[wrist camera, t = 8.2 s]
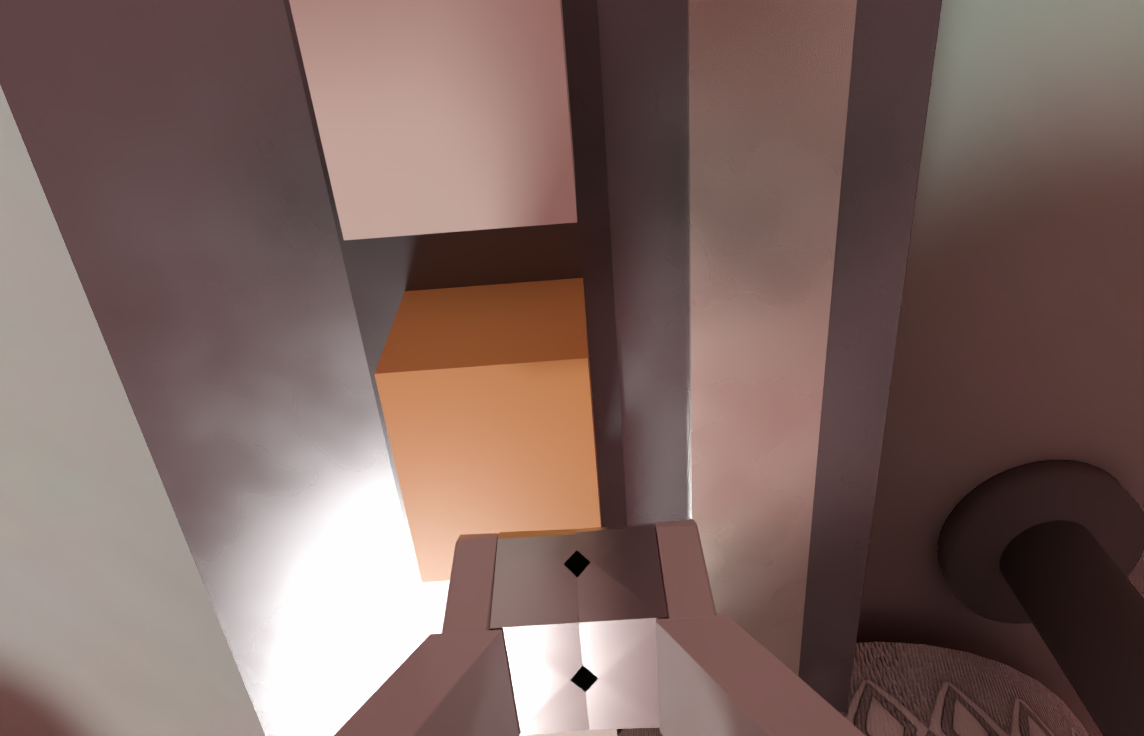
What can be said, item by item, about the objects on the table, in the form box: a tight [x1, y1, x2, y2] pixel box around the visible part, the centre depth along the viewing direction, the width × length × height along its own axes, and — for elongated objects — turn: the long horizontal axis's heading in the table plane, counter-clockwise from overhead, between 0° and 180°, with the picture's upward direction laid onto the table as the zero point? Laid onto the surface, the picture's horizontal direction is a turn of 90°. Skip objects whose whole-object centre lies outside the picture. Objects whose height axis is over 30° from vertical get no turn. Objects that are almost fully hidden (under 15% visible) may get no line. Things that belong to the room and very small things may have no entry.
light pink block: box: [289, 0, 577, 240], centre depth 11 cm, size 3×4×3 cm
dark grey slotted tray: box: [0, 0, 942, 736], centre depth 17 cm, size 14×20×4 cm
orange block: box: [374, 278, 601, 582], centre depth 14 cm, size 3×4×3 cm
